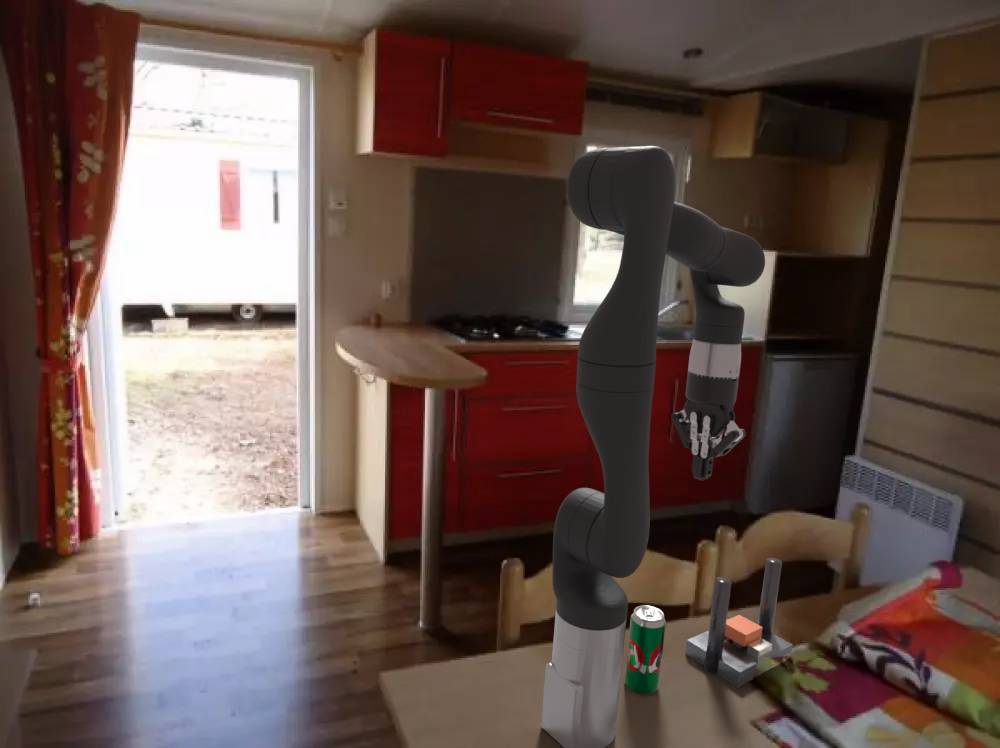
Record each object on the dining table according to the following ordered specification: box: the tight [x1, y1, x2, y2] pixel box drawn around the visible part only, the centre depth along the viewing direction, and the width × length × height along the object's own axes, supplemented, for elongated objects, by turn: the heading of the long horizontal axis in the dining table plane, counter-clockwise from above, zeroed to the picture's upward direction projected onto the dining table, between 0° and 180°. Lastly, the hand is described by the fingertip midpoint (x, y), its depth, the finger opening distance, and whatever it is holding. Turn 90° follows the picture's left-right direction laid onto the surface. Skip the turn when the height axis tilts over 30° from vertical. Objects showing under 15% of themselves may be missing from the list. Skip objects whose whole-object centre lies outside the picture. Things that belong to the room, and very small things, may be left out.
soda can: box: [624, 604, 667, 696], centre depth 105 cm, size 5×5×12 cm
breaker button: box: [725, 614, 763, 650], centre depth 115 cm, size 4×4×4 cm
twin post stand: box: [685, 557, 794, 688], centre depth 114 cm, size 16×10×15 cm, turn 126°
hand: (701, 478), depth 112 cm, fingers closed
